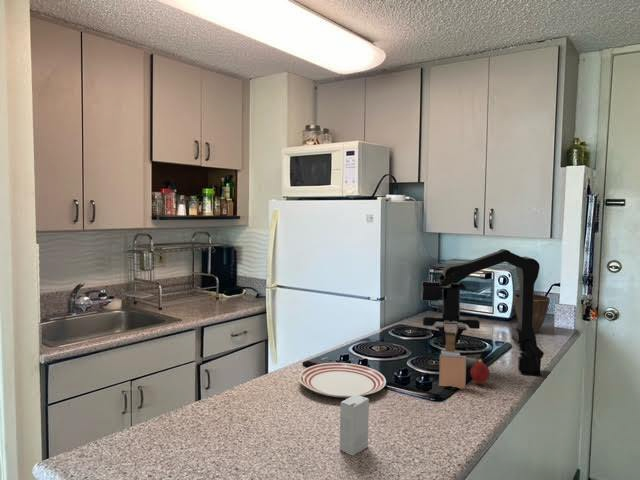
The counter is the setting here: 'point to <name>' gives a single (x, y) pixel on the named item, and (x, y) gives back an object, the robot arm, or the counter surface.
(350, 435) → the skincare box
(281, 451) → the counter surface
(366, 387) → the dinner plate
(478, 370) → the onion
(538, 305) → the plant pot
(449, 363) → the tile
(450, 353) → the turner
